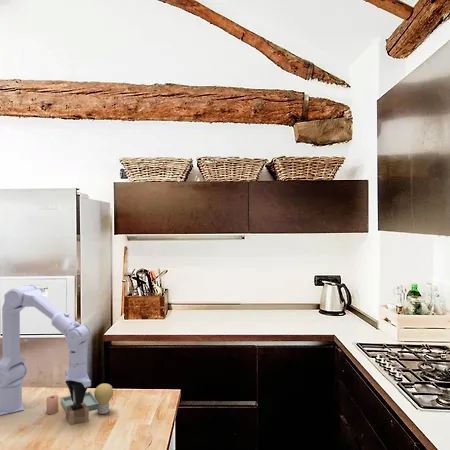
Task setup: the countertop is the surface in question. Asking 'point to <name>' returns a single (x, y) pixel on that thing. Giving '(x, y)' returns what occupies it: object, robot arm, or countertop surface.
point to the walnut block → (77, 414)
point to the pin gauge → (75, 406)
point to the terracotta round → (52, 404)
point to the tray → (88, 400)
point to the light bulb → (103, 397)
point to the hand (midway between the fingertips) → (77, 402)
